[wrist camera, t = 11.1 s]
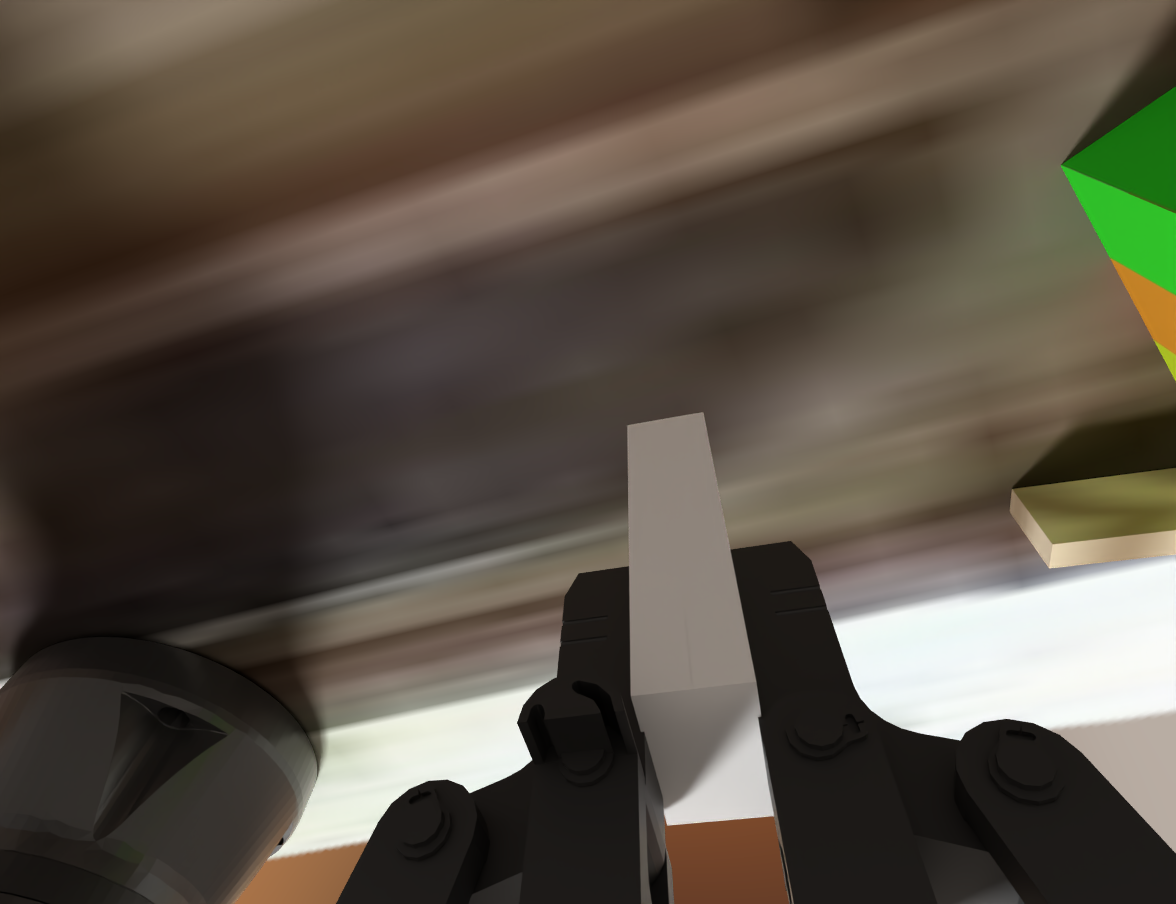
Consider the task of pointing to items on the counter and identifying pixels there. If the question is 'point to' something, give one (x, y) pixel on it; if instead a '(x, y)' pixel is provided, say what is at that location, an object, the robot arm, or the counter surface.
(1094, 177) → the puzzle toy
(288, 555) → the counter surface
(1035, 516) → the tray
